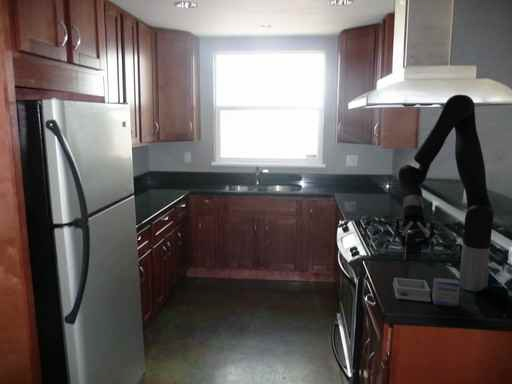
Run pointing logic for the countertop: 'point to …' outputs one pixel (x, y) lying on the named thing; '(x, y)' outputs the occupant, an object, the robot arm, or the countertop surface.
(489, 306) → the countertop surface
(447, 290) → the medicine box
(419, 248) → the battery charger
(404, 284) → the charging dock
